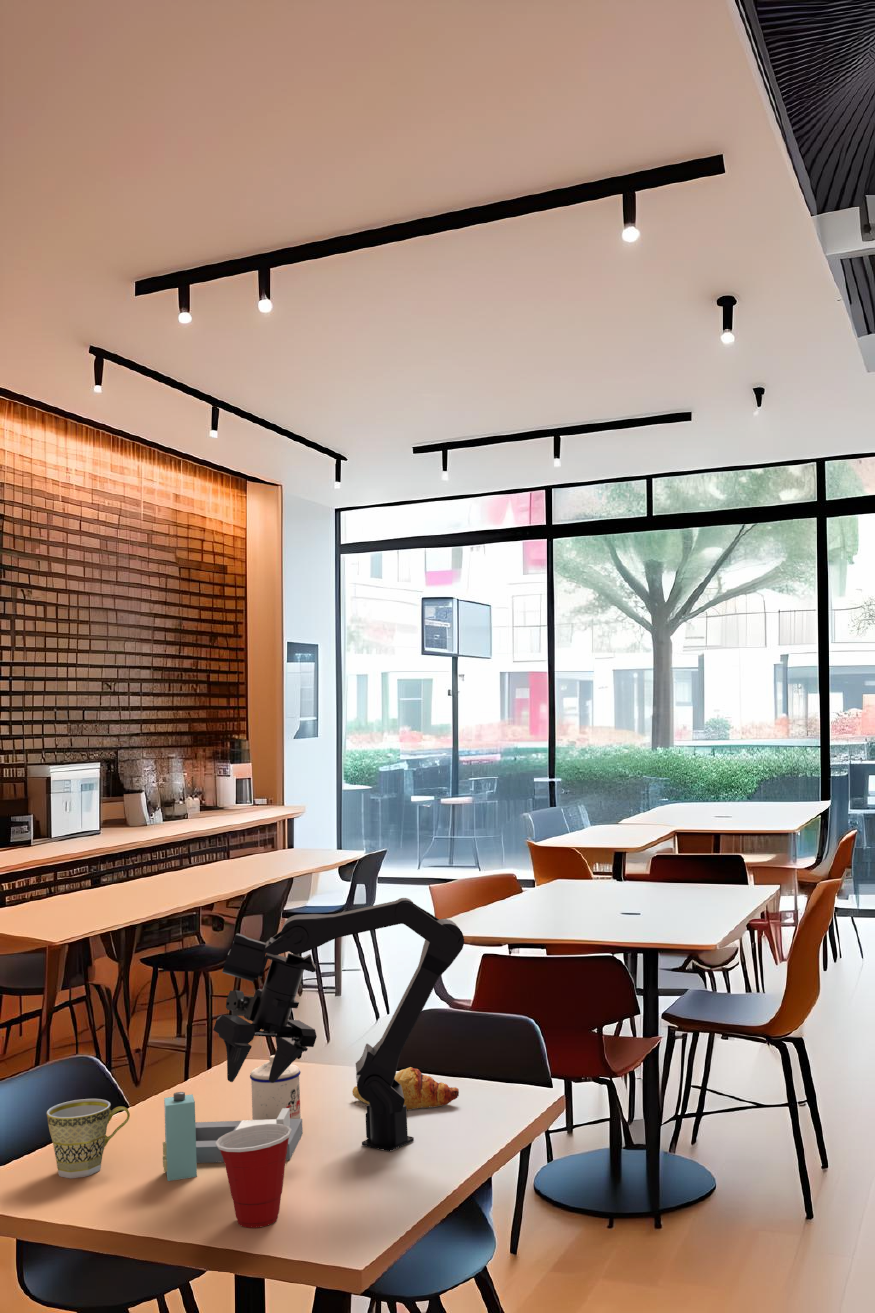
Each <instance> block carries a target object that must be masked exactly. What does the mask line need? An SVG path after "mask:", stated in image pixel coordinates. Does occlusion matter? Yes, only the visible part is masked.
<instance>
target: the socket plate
mask: <svg viewBox="0 0 875 1313" xmlns="http://www.w3.org/2000/svg"><path fill="white" fill-rule="evenodd" d="M241 1121H242V1120H225V1121H224V1120H223V1121H195V1126H196V1163H197V1164H199V1163H200V1164H204V1163H205V1164H208V1163H209V1164H211V1163H224V1160H223V1156H222V1155H221V1151H220V1150H219V1149H218V1147H217V1145H216V1141H217V1140H218V1138H220V1137H221V1136H223V1135H225V1134H227V1133H229V1132H232V1131H235V1130H236V1129H237V1127H238V1126H239V1124H240V1123H241ZM289 1127H290V1128H291V1129H292V1131H291V1134H290V1136H289V1140H288V1146H287V1154H286V1161H290V1160H291V1159H292V1156H293V1155H294V1152H295V1150H296V1148H297V1146H298V1144H299V1143H300V1140H301V1137H302V1136H303V1133H304V1132H303V1118H301V1119H290V1126H289Z"/></svg>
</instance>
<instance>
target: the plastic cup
mask: <svg viewBox="0 0 875 1313" xmlns="http://www.w3.org/2000/svg"><path fill="white" fill-rule="evenodd" d="M291 1131H292V1129H291V1128H290V1127H289V1126H286V1125H282V1124H262V1125H254V1126H249V1127H245V1128H241V1129H237V1130H235V1131H232V1132H229V1133H227V1134H225V1135H223V1136H221V1137H220V1138H218V1140H217V1141H216V1145H217V1147H218V1149H219V1150H220V1151H221V1155H222V1156H223V1160H224V1162H223V1163H224V1166H225V1171H226V1176H227V1181H228V1186H229V1191H230V1194H231V1195H230V1196H231V1200H232V1202H233V1209H234V1214H235V1218H236V1220H237V1223H238V1225H239V1226H241V1227H244V1228H249V1229H254V1228H255V1229H256V1228H262V1227H267V1226H269V1225H272V1224H273V1223H275V1222H277V1220H278V1218H279V1214H280V1209H281V1208H280V1207H281V1200H282V1198H281V1197H282V1193H283V1188H284V1177H285V1170H286V1161H287V1160H286V1154H287V1146H288V1140H289V1136H290V1134H291Z"/></svg>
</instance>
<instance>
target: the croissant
mask: <svg viewBox="0 0 875 1313" xmlns="http://www.w3.org/2000/svg"><path fill="white" fill-rule="evenodd" d="M394 1079H395V1080H396V1081H397V1082H398V1083H399V1084H401V1086H402V1091H403V1095H404V1099H405V1102H404V1105H406V1109H407V1111H411V1110H416V1109H421V1108H426V1109H428V1108H435V1107H441V1106H446V1105H448V1104H450V1103H451V1102H452V1101H454V1100H457V1098H458V1097H459V1094H460V1091H459V1088H457V1087H456V1086H455V1087H449V1085H448V1083H444V1082H442V1081H441V1082H437V1081H436V1080H435V1079H433V1077H432V1076H430V1075H425V1074H422V1072H421V1071H420V1069H418V1068H413V1067H411V1066H410V1067H407V1068H404V1069H401V1070H398V1071H397V1072H396V1075H395V1078H394ZM352 1096H353V1097H354V1098H355V1099H357V1100H358V1101H360V1102H362V1103H364V1104H366V1105H368V1104H370V1103H369V1102H368V1101H366V1100H364V1099H363V1098H362V1097H361V1096H360V1094H359V1092H358V1089H357V1085H356V1086H353V1088H352Z"/></svg>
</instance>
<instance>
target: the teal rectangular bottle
mask: <svg viewBox="0 0 875 1313" xmlns="http://www.w3.org/2000/svg"><path fill="white" fill-rule="evenodd" d="M163 1101H164V1105H163V1106H164V1108H163V1109H164V1137H165V1138H164V1139H165V1141H162V1168H163V1172H164V1173H165V1174H166V1179H167V1182H171V1181H172V1182H173V1181H177V1180H184V1179H185V1180H186V1179H190V1178H197V1177H198V1173H197V1172H198V1170H197V1168H198V1167H197V1166H198V1165H197V1164H198V1163H196V1126H195V1122H196V1102H195V1098H194V1095H193V1093H192V1094H186V1092H184V1091H177V1092H174V1093H173V1096H170V1097H164V1100H163Z"/></svg>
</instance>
